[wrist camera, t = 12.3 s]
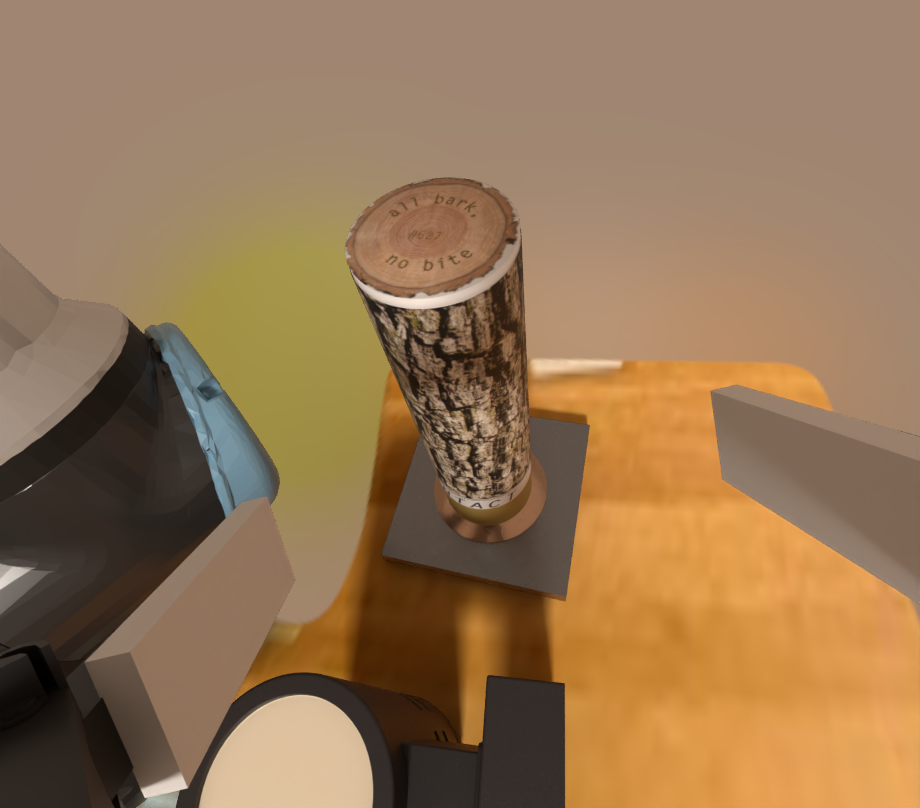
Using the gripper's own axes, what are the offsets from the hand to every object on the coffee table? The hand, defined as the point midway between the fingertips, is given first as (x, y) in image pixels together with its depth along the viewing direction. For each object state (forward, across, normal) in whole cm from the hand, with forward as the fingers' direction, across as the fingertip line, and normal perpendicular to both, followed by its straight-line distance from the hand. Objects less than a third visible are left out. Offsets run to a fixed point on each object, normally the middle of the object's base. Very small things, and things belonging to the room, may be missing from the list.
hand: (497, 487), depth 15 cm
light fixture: (+13, -7, -23) cm, 28 cm away
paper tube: (+24, 0, -10) cm, 26 cm away
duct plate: (+26, 0, -11) cm, 28 cm away
